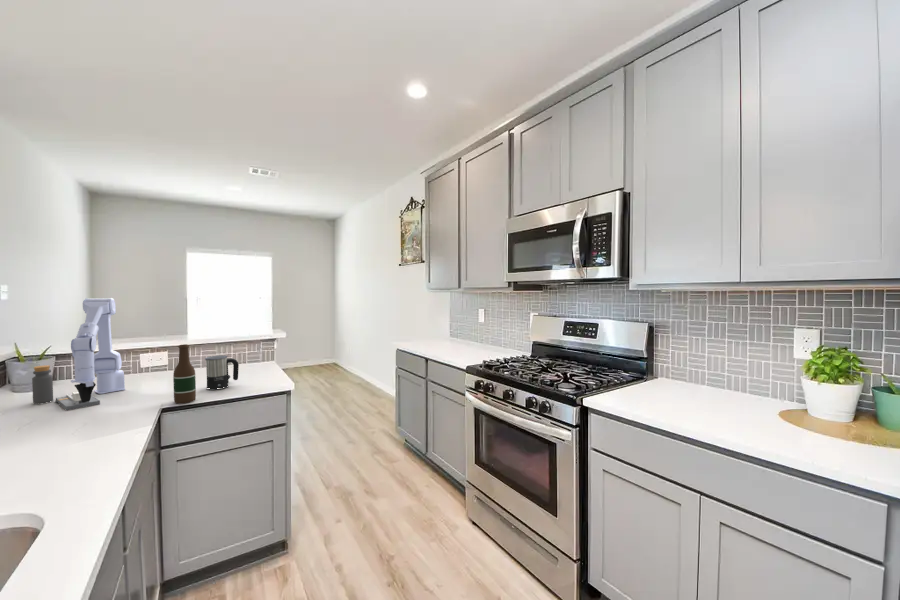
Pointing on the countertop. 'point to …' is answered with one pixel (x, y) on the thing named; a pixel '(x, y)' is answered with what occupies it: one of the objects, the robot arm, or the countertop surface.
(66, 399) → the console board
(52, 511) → the countertop surface
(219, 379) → the milk frother
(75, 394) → the fader tab
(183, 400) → the beer bottle
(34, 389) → the bottle
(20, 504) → the countertop surface
